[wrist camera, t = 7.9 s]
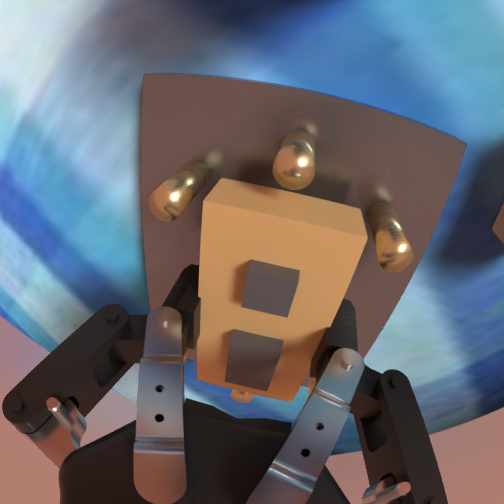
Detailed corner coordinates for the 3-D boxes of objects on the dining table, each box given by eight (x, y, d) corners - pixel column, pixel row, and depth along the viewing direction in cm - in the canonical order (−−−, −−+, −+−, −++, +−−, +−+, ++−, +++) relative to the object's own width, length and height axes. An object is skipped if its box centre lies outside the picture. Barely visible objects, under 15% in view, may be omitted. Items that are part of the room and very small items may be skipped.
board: (360, 208, 10) (370, 248, 8) (295, 371, 16) (290, 411, 14) (221, 177, 11) (196, 209, 9) (207, 350, 16) (193, 388, 14)
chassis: (455, 136, 10) (504, 168, 7) (340, 378, 20) (338, 430, 16) (157, 72, 11) (98, 81, 8) (162, 336, 21) (139, 382, 17)
